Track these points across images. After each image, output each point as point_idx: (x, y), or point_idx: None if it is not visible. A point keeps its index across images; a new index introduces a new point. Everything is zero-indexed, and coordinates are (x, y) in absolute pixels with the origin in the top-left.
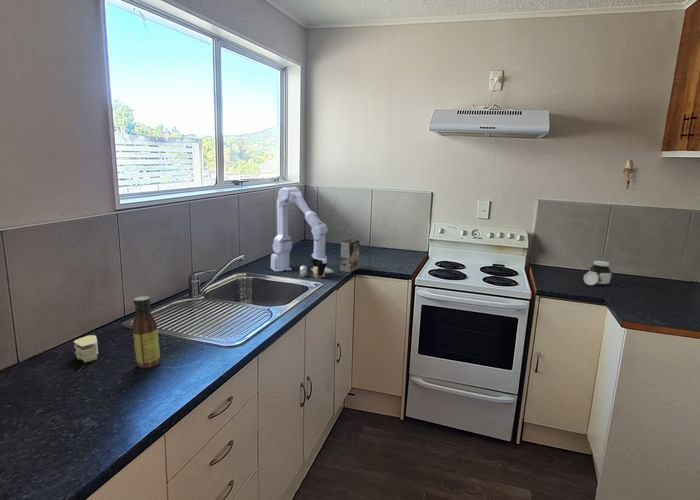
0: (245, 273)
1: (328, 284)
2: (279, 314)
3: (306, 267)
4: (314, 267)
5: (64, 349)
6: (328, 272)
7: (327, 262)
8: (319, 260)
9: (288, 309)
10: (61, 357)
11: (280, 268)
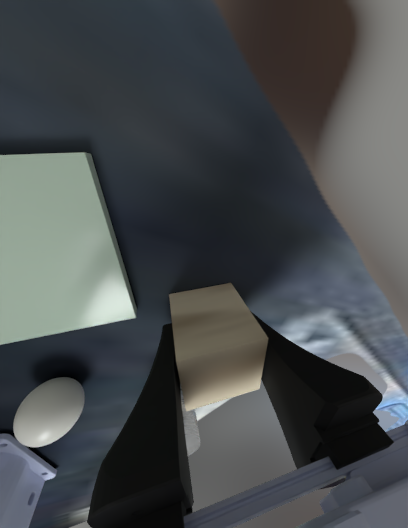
0: (84, 509)
1: (346, 291)
2: (403, 396)
3: (193, 435)
4: (216, 401)
5: (326, 485)
6: (108, 221)
7: (380, 395)
8: (289, 479)
9: (400, 388)
10: (337, 480)
11: (25, 480)
